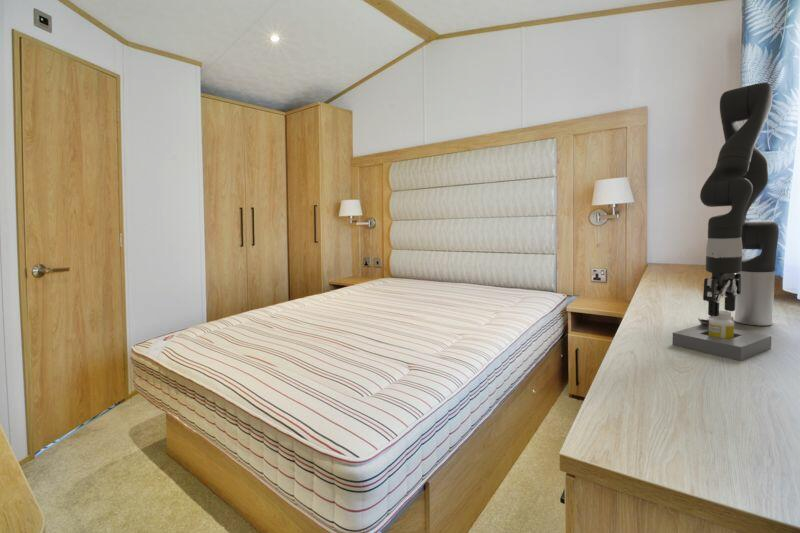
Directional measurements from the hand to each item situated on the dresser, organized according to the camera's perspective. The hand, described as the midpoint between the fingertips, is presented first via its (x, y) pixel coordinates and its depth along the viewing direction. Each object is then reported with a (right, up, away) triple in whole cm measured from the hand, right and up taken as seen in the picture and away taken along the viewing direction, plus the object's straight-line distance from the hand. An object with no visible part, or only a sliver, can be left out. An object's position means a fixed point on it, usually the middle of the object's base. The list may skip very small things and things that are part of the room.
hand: (721, 313), depth 108 cm
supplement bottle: (0, -10, +1) cm, 10 cm away
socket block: (0, -9, +1) cm, 9 cm away
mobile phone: (+11, -7, +15) cm, 20 cm away
